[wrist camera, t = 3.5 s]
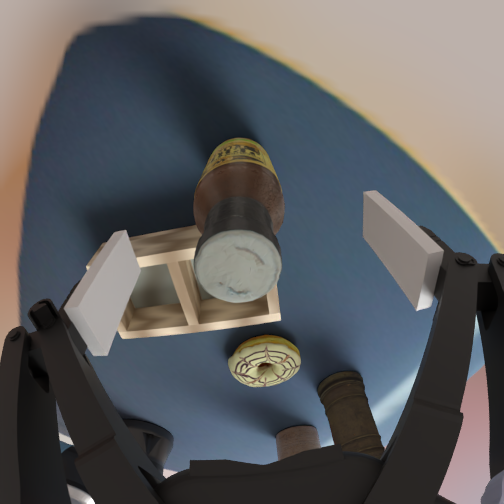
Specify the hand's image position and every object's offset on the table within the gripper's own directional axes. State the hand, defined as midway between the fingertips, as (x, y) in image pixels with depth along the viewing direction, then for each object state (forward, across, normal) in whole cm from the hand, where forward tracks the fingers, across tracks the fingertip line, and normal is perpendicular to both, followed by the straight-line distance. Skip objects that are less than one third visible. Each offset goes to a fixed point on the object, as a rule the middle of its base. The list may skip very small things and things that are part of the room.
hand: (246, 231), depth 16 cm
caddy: (+17, -8, -12) cm, 22 cm away
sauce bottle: (+17, 0, 0) cm, 17 cm away
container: (+17, +12, -42) cm, 47 cm away
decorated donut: (+17, -1, -29) cm, 34 cm away
